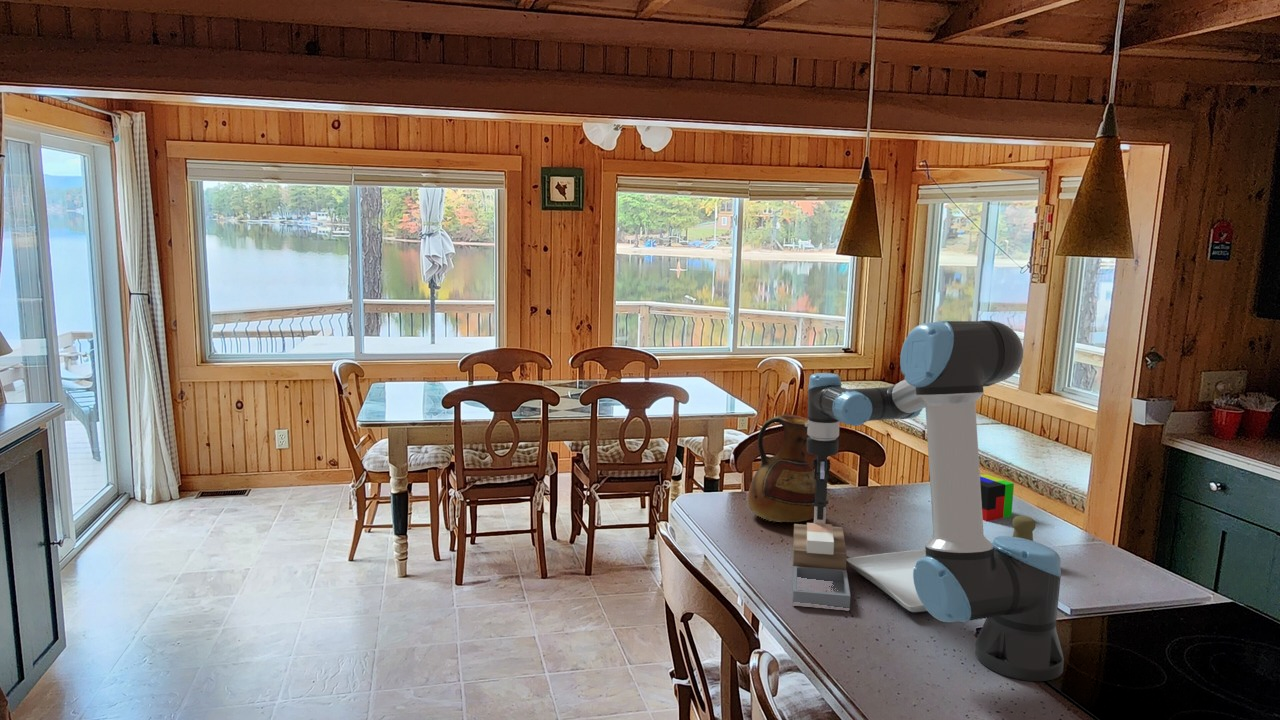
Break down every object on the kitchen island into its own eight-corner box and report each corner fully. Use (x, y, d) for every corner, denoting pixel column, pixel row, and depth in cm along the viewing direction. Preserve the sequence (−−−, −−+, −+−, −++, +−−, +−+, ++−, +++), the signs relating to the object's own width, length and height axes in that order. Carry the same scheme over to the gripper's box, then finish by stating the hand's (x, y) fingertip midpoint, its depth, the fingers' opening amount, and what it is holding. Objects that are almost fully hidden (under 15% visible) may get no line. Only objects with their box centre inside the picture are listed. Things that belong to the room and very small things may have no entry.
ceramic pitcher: (820, 532, 220) (824, 425, 216) (745, 527, 223) (748, 422, 219) (817, 509, 239) (821, 410, 235) (748, 505, 242) (751, 407, 238)
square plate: (908, 623, 169) (909, 605, 168) (842, 571, 195) (843, 556, 194) (1017, 608, 176) (1019, 591, 175) (940, 560, 202) (940, 545, 201)
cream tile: (833, 554, 186) (833, 542, 186) (806, 552, 187) (807, 540, 187) (832, 545, 192) (832, 533, 191) (806, 543, 193) (807, 531, 193)
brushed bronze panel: (845, 582, 188) (846, 553, 187) (792, 578, 190) (793, 550, 189) (841, 553, 205) (842, 527, 204) (793, 550, 207) (794, 523, 206)
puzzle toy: (959, 510, 238) (961, 478, 237) (983, 506, 243) (985, 474, 241) (986, 521, 229) (988, 487, 228) (1011, 516, 234) (1013, 483, 232)
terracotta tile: (832, 545, 192) (833, 533, 191) (806, 543, 193) (807, 531, 193) (831, 536, 198) (832, 524, 197) (806, 534, 199) (806, 522, 198)
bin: (849, 611, 173) (850, 595, 172) (792, 606, 175) (793, 591, 175) (845, 584, 187) (846, 570, 186) (792, 580, 189) (793, 566, 188)
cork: (1037, 565, 198) (1040, 522, 197) (1011, 563, 199) (1014, 520, 198) (1030, 555, 204) (1034, 514, 203) (1005, 554, 205) (1008, 512, 204)
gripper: (806, 430, 202) (803, 520, 206) (807, 442, 190) (803, 538, 193) (837, 431, 201) (833, 522, 204) (840, 444, 188) (836, 541, 192)
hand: (819, 530), depth 199 cm, fingers closed
